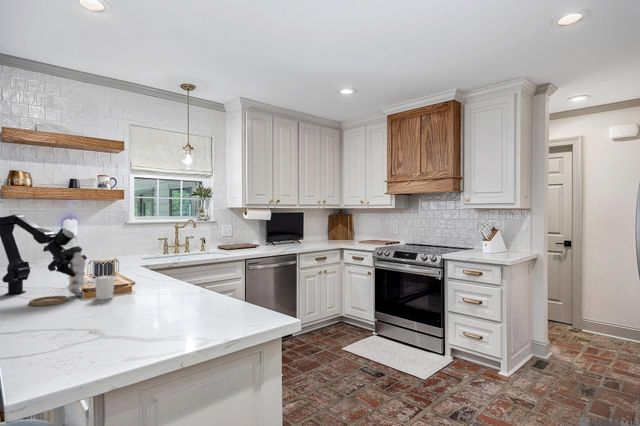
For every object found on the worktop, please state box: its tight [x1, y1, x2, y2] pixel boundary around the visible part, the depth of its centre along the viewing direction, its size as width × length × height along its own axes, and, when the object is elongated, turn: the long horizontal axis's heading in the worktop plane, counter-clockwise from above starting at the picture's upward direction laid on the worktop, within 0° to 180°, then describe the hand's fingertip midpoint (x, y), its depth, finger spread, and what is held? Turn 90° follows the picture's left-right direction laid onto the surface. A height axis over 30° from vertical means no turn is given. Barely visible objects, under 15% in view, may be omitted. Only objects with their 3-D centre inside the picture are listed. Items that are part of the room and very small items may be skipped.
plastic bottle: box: [68, 251, 86, 294], centre depth 179 cm, size 6×7×20 cm
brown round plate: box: [27, 295, 69, 307], centre depth 166 cm, size 14×14×1 cm
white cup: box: [94, 275, 115, 301], centre depth 175 cm, size 8×8×10 cm
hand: (79, 275), depth 179 cm, fingers closed on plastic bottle, 6 cm apart
